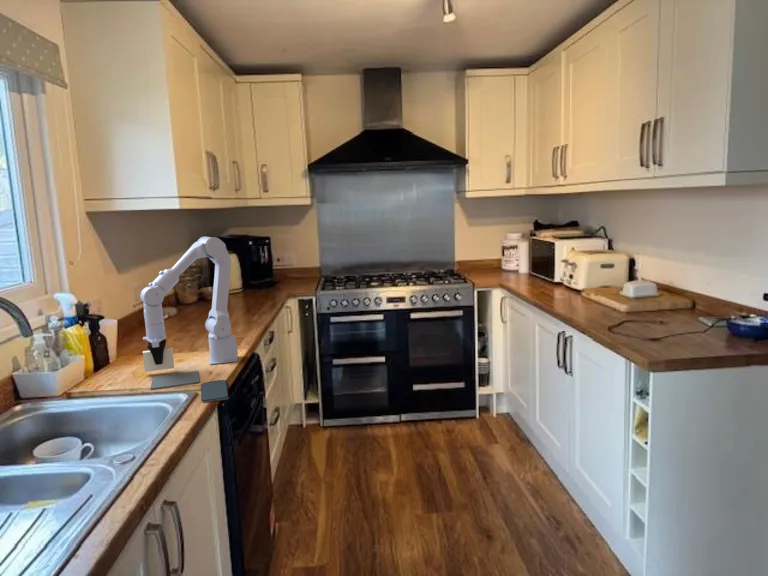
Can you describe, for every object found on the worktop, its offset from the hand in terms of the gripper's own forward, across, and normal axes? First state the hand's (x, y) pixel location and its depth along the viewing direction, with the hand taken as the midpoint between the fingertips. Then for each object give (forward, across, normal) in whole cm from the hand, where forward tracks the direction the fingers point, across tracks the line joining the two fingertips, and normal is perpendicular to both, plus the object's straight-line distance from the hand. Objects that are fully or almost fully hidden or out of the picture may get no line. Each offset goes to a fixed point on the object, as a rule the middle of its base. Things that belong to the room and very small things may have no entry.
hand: (159, 363), depth 178 cm
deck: (+2, 0, 0) cm, 2 cm away
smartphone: (+4, +27, +16) cm, 32 cm away
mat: (+4, +10, +5) cm, 12 cm away
